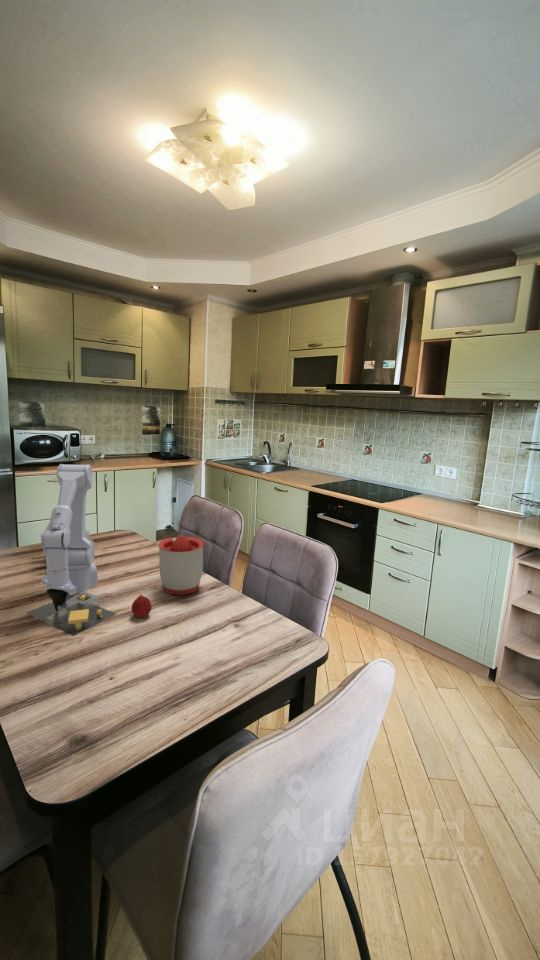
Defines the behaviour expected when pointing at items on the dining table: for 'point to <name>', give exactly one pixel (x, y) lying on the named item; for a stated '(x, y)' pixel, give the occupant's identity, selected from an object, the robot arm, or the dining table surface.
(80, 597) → the cylinder
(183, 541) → the citrus juicer
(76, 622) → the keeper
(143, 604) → the onion
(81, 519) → the robot arm
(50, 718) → the dining table surface
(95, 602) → the link
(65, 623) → the plate
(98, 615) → the post
